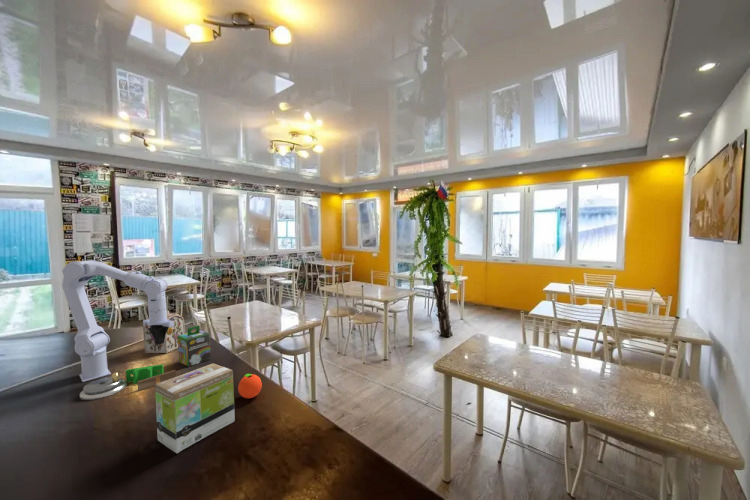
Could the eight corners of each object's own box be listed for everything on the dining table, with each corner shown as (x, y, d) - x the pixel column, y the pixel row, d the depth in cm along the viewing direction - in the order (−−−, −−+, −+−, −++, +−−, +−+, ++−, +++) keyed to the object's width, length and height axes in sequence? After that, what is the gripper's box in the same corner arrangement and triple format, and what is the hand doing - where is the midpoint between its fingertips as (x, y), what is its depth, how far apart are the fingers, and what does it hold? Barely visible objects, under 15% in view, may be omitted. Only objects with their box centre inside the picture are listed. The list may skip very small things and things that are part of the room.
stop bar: (138, 390, 104) (137, 381, 104) (175, 377, 112) (174, 369, 112) (139, 391, 103) (138, 382, 103) (176, 378, 112) (175, 370, 112)
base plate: (77, 392, 104) (77, 389, 104) (122, 379, 113) (122, 376, 113) (82, 404, 96) (81, 401, 96) (130, 388, 105) (130, 386, 105)
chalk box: (201, 355, 134) (199, 321, 134) (211, 359, 129) (209, 324, 128) (178, 362, 127) (175, 327, 126) (188, 367, 121) (185, 330, 121)
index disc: (74, 395, 99) (73, 381, 99) (101, 380, 109) (100, 368, 109) (106, 393, 100) (105, 380, 100) (130, 379, 110) (129, 367, 110)
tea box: (177, 455, 71) (173, 393, 71) (157, 441, 77) (152, 383, 76) (236, 421, 84) (233, 368, 83) (215, 411, 89) (212, 361, 89)
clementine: (233, 396, 97) (232, 374, 97) (254, 388, 102) (253, 367, 102) (244, 405, 92) (243, 382, 91) (266, 396, 97) (265, 373, 96)
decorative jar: (143, 353, 139) (140, 314, 138) (165, 344, 151) (162, 308, 150) (166, 354, 137) (164, 314, 136) (186, 344, 149) (184, 308, 148)
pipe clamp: (123, 386, 108) (122, 373, 108) (127, 381, 111) (126, 369, 111) (160, 379, 112) (159, 367, 111) (164, 375, 115) (163, 363, 115)
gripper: (134, 311, 119) (136, 345, 120) (160, 313, 114) (163, 348, 115) (152, 307, 126) (154, 339, 126) (178, 308, 121) (180, 342, 122)
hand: (160, 343), depth 121 cm, fingers closed
